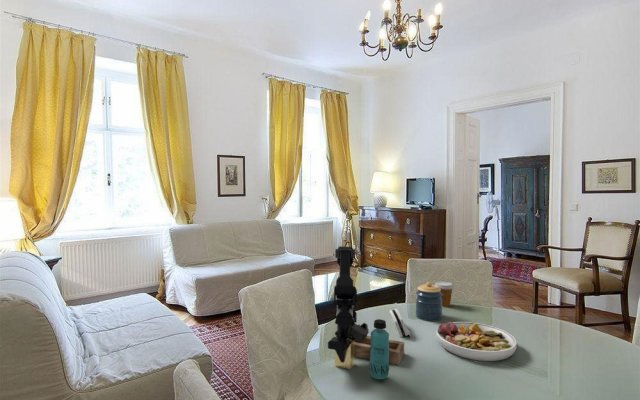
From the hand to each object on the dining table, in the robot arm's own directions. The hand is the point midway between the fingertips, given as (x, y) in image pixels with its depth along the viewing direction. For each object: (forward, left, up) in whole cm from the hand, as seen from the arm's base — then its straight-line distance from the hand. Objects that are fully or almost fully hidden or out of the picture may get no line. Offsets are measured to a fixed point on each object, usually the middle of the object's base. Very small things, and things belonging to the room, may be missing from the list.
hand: (344, 359), depth 135 cm
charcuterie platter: (+43, +36, -3) cm, 56 cm away
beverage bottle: (+14, -4, -2) cm, 15 cm away
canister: (+21, +64, -2) cm, 67 cm away
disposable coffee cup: (+26, +86, -2) cm, 90 cm away
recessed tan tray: (+8, +13, -2) cm, 15 cm away
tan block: (0, 0, -2) cm, 2 cm away
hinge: (+11, +41, -2) cm, 42 cm away
